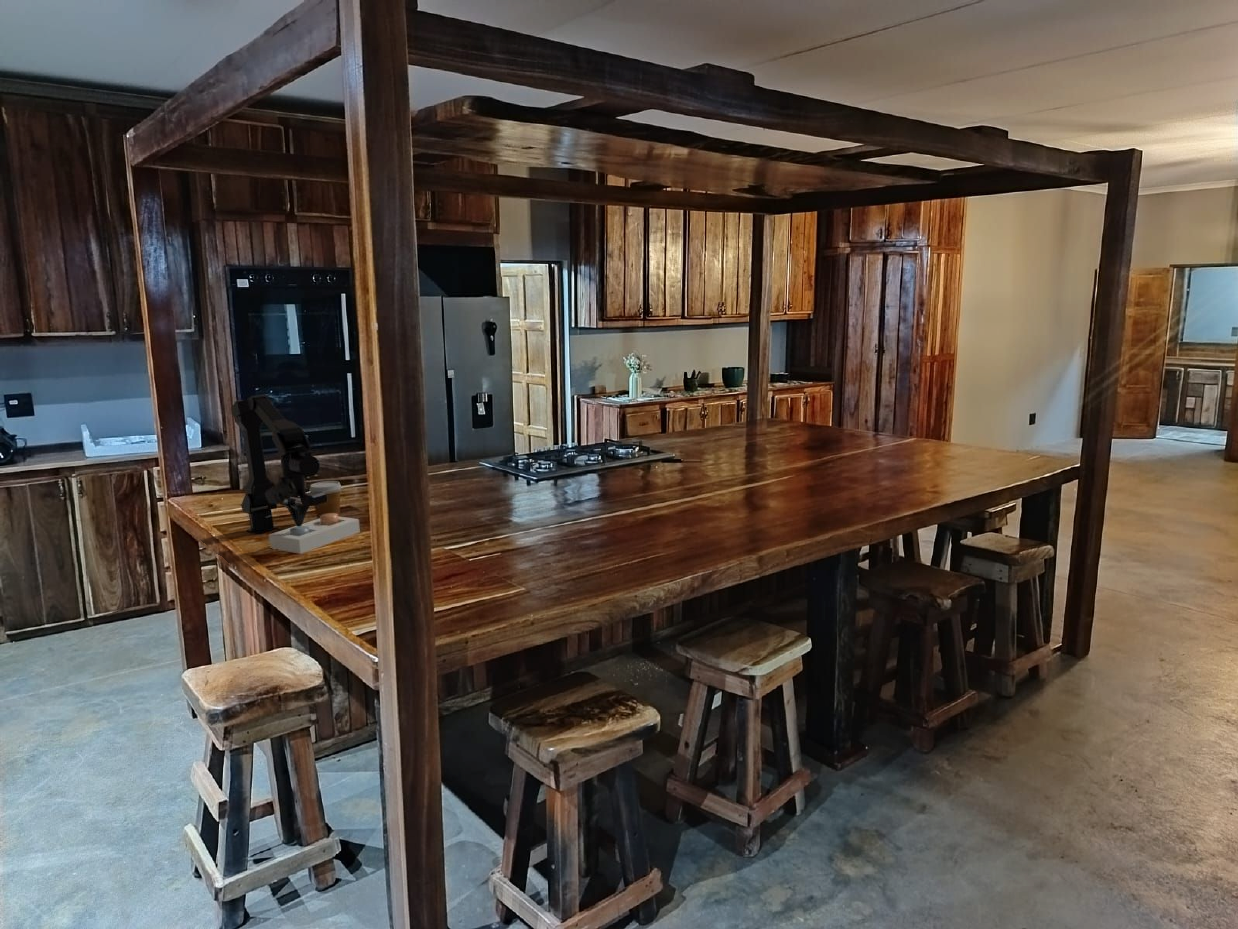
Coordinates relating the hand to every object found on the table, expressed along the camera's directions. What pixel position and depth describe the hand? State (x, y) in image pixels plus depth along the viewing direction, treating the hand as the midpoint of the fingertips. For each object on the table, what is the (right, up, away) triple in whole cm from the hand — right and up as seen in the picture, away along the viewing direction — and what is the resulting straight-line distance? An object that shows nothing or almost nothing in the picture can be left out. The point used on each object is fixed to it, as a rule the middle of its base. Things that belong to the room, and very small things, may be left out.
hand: (299, 526), depth 235 cm
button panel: (+3, -5, +6) cm, 8 cm away
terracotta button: (+5, -1, +10) cm, 11 cm away
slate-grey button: (0, -4, +1) cm, 4 cm away
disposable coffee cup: (0, -1, +25) cm, 25 cm away
